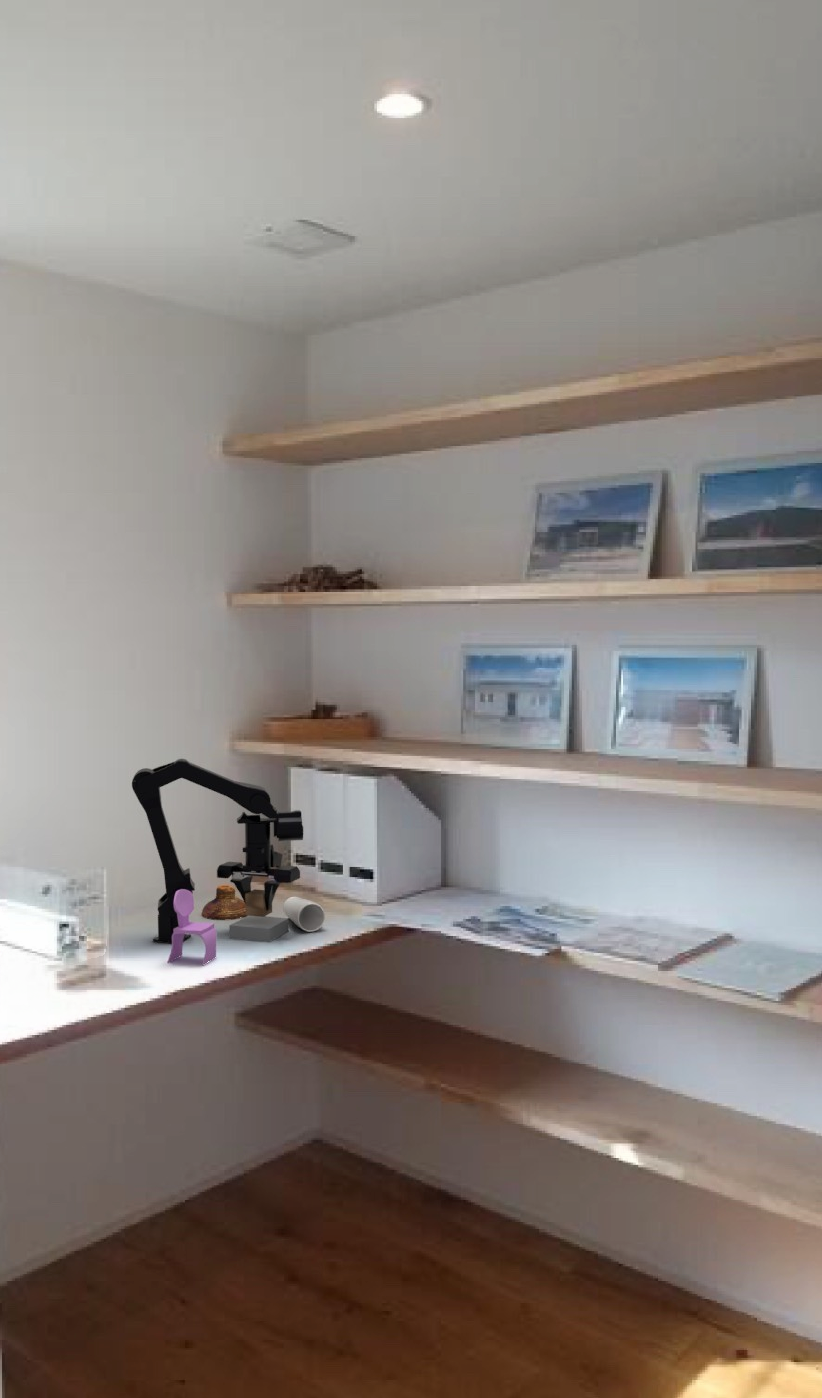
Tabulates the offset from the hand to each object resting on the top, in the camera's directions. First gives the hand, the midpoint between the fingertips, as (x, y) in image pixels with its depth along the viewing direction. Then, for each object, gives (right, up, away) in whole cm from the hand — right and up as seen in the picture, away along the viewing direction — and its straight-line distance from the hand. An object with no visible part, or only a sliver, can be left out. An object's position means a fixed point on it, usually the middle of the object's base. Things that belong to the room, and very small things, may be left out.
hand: (258, 909), depth 268 cm
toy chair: (-11, -8, -20) cm, 24 cm away
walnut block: (0, -1, 0) cm, 1 cm away
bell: (-11, -5, +20) cm, 23 cm away
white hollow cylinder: (+6, -2, +16) cm, 17 cm away
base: (0, -6, 0) cm, 6 cm away
